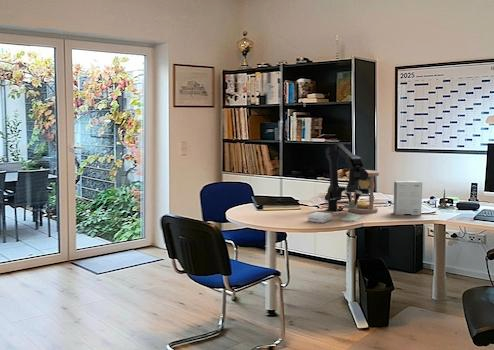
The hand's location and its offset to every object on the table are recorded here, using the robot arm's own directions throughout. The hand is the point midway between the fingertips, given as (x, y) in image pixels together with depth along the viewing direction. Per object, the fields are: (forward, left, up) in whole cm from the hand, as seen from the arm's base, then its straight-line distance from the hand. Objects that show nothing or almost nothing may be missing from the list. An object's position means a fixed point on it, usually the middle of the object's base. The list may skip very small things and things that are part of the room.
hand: (353, 204), depth 310 cm
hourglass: (-22, +1, -8) cm, 23 cm away
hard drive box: (-25, +27, -8) cm, 38 cm away
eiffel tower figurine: (-57, +45, -8) cm, 73 cm away
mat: (+3, 0, -7) cm, 8 cm away
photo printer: (+14, -13, -5) cm, 20 cm away
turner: (+3, 0, -1) cm, 3 cm away
